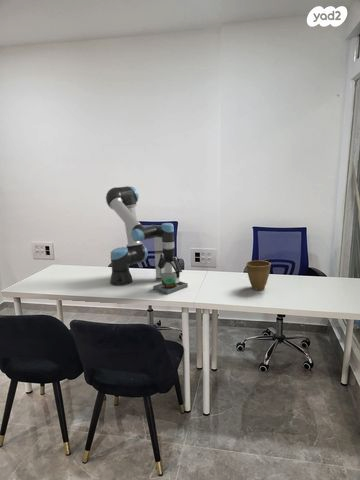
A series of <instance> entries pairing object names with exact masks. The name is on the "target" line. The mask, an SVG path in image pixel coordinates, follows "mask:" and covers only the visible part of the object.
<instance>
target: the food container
mask: <svg viewBox="0 0 360 480" xmlns="http://www.w3.org/2000/svg"><path fill="white" fill-rule="evenodd" d="M175 273H176V272H167V273H161V272H160V276H161V280H162V281H161V283H162V286H163V288H166V289H171V288H175V287H177V283H175Z"/></svg>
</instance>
